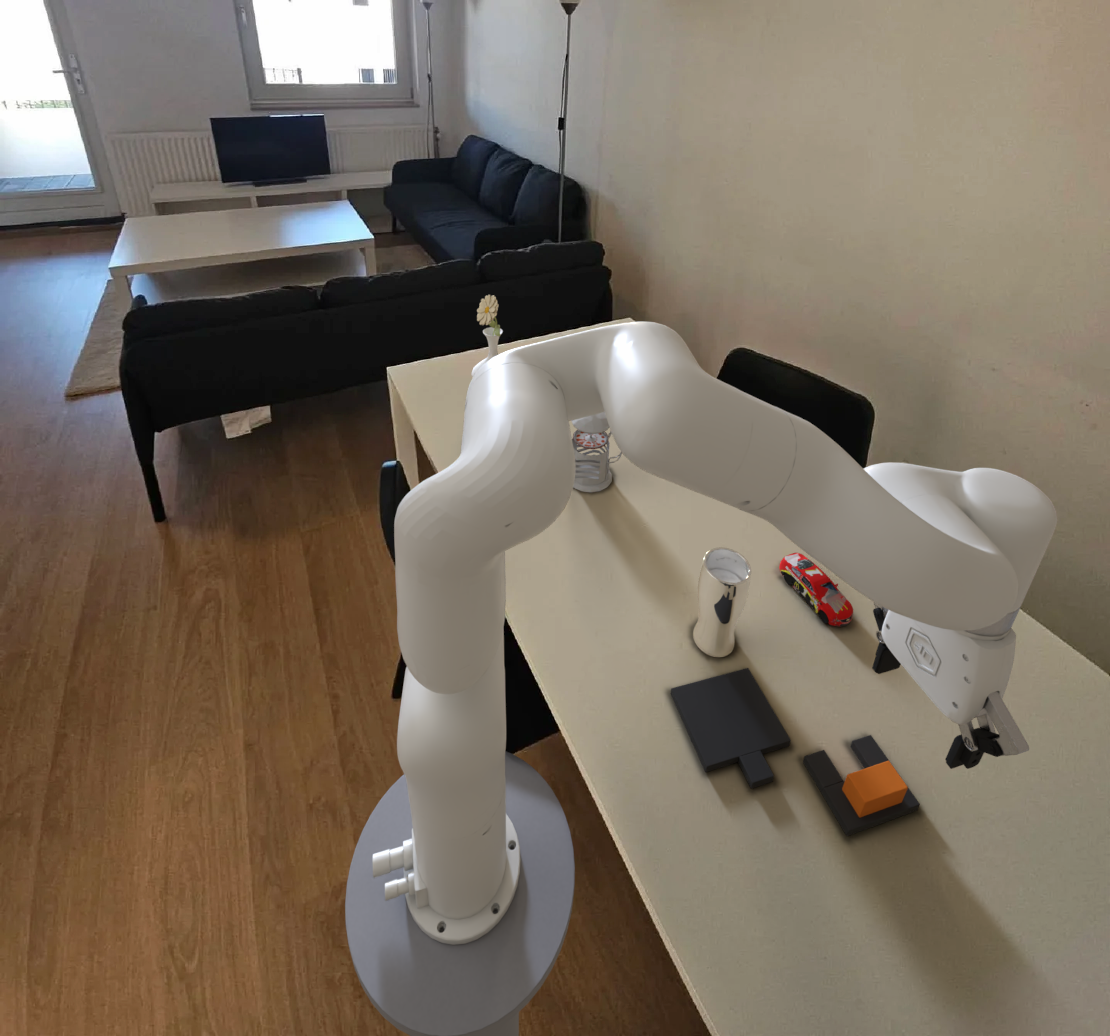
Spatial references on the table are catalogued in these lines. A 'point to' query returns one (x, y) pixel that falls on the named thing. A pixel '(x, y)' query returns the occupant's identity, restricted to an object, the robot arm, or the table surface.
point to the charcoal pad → (731, 724)
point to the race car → (816, 589)
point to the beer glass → (721, 600)
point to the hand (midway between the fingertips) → (920, 711)
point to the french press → (592, 468)
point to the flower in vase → (492, 333)
